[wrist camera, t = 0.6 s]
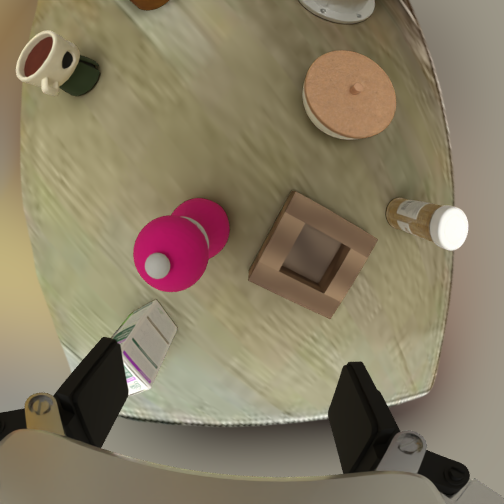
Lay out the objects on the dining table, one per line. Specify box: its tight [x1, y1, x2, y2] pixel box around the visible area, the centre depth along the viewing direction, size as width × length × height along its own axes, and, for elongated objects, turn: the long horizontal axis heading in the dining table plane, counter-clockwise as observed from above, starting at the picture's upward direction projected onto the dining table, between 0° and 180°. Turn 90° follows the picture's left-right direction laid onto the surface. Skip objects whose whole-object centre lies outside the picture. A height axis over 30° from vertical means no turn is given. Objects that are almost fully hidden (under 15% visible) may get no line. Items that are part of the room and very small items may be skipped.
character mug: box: [16, 30, 100, 96], centre depth 26 cm, size 11×7×13 cm, turn 16°
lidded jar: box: [302, 50, 396, 140], centre depth 29 cm, size 11×11×9 cm
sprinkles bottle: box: [386, 198, 468, 250], centre depth 30 cm, size 5×5×13 cm
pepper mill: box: [133, 198, 230, 292], centre depth 28 cm, size 7×7×20 cm
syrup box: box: [111, 300, 177, 396], centre depth 34 cm, size 6×6×14 cm
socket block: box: [248, 191, 378, 319], centre depth 36 cm, size 12×12×4 cm
